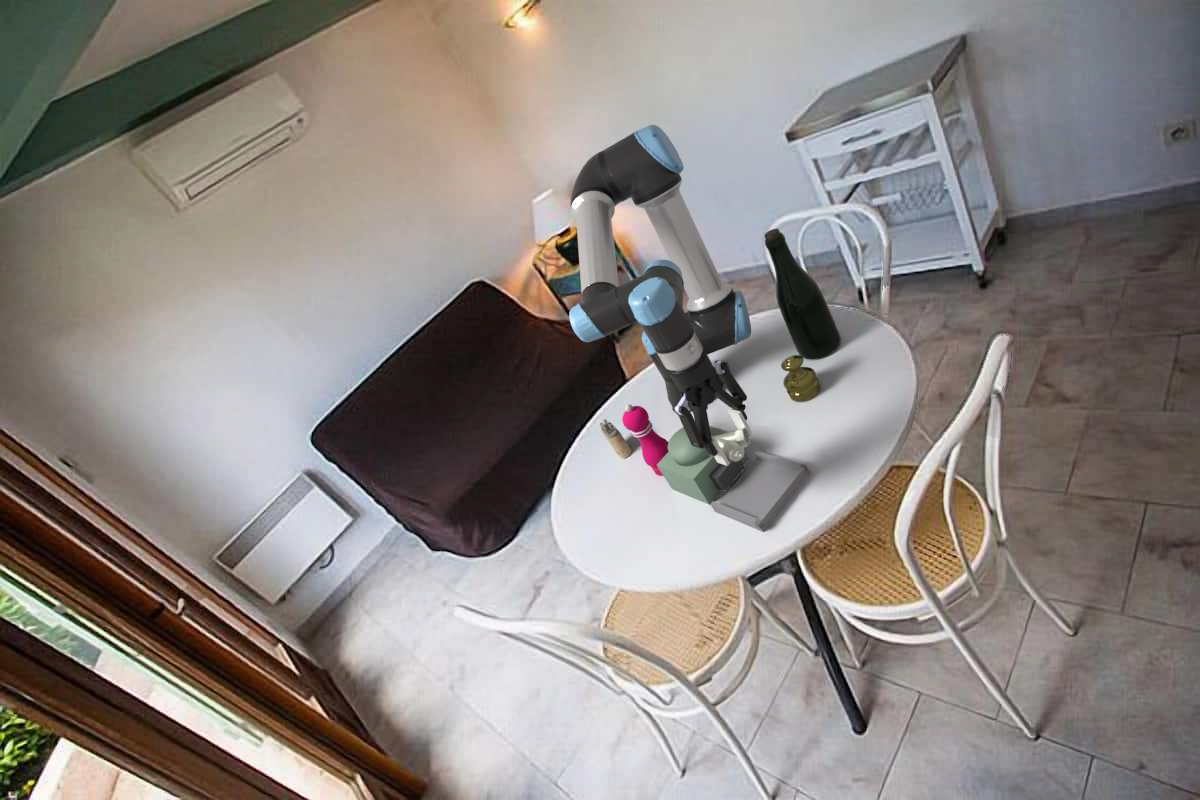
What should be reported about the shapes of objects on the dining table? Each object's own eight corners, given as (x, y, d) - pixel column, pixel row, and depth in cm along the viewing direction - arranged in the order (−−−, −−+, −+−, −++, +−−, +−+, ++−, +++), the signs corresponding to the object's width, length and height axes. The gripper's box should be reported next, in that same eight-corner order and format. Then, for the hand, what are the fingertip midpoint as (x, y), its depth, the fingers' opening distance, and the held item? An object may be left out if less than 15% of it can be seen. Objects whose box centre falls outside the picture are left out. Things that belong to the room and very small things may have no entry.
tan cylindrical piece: (613, 449, 170) (594, 422, 165) (624, 440, 170) (606, 413, 165) (623, 460, 163) (604, 433, 158) (635, 451, 164) (616, 423, 159)
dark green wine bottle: (849, 333, 156) (802, 214, 140) (831, 361, 151) (781, 242, 135) (810, 334, 164) (762, 222, 148) (791, 361, 159) (740, 248, 143)
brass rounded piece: (828, 384, 146) (813, 350, 141) (808, 405, 143) (792, 372, 139) (802, 378, 152) (787, 345, 147) (783, 399, 150) (767, 366, 145)
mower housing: (672, 489, 145) (650, 455, 140) (710, 446, 150) (690, 412, 145) (717, 508, 134) (695, 472, 128) (757, 461, 138) (737, 424, 133)
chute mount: (714, 511, 133) (710, 504, 132) (760, 457, 138) (756, 450, 137) (762, 532, 123) (758, 524, 122) (810, 472, 128) (806, 465, 127)
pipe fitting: (750, 462, 121) (750, 436, 126) (742, 449, 119) (742, 423, 124) (710, 472, 125) (712, 446, 129) (702, 459, 123) (704, 433, 127)
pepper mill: (682, 452, 154) (644, 390, 144) (677, 474, 148) (637, 412, 139) (656, 458, 157) (616, 398, 148) (650, 480, 152) (609, 419, 142)
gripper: (662, 399, 108) (718, 490, 119) (734, 325, 114) (780, 417, 125) (635, 393, 114) (690, 480, 125) (704, 322, 120) (751, 411, 131)
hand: (735, 448), depth 125 cm, fingers closed on pipe fitting, 7 cm apart
